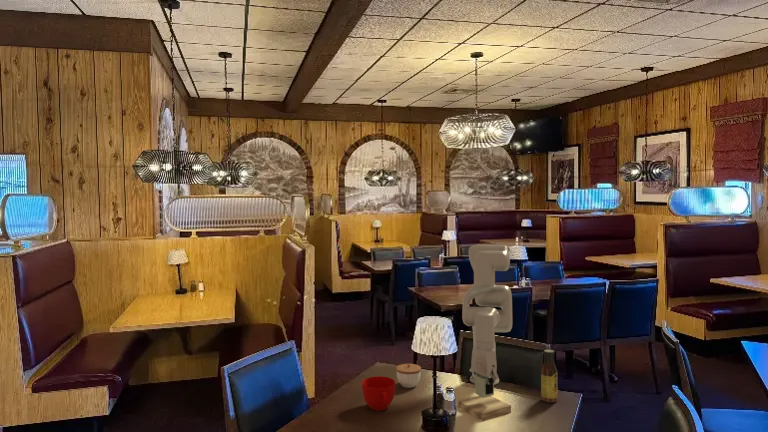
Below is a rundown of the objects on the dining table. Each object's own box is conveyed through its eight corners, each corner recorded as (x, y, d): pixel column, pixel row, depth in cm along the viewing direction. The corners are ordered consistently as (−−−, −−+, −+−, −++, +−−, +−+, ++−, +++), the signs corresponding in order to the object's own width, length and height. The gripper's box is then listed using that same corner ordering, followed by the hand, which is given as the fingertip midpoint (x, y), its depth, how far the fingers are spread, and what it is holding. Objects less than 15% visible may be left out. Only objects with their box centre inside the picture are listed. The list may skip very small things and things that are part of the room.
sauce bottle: (558, 403, 215) (558, 353, 214) (541, 402, 216) (541, 353, 215) (556, 397, 222) (556, 349, 221) (540, 396, 223) (540, 348, 222)
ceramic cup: (369, 420, 202) (368, 393, 202) (359, 402, 218) (358, 378, 218) (402, 415, 206) (402, 389, 205) (390, 399, 222) (390, 374, 221)
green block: (475, 393, 211) (475, 375, 211) (485, 390, 213) (485, 373, 213) (483, 397, 207) (483, 379, 206) (493, 395, 209) (493, 377, 209)
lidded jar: (423, 382, 241) (423, 361, 240) (418, 390, 231) (418, 368, 230) (399, 379, 244) (399, 359, 243) (393, 388, 234) (393, 366, 233)
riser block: (458, 408, 213) (458, 401, 213) (486, 401, 220) (486, 393, 220) (482, 421, 201) (482, 413, 201) (510, 413, 208) (511, 405, 208)
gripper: (462, 340, 215) (462, 386, 216) (491, 351, 200) (491, 400, 201) (477, 337, 218) (477, 382, 219) (507, 348, 204) (507, 396, 204)
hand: (484, 390), depth 210 cm, fingers closed on green block, 5 cm apart
